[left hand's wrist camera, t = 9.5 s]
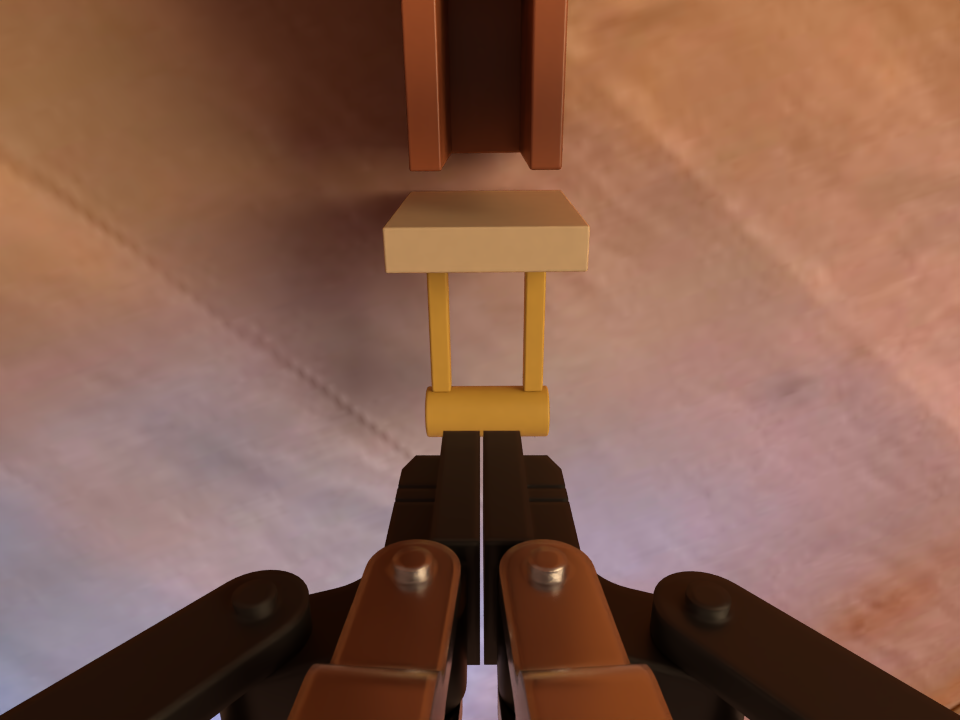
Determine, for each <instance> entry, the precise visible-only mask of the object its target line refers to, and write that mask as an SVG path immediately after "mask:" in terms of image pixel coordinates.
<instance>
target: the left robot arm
mask: <svg viewBox="0 0 960 720" xmlns="http://www.w3.org/2000/svg"><path fill="white" fill-rule="evenodd" d="M483 581H484V665H497V675H498V706H497V707H498V720H744V716H746V717H747V718H748V719H750V720H960V715H958V714H956V713H955V712H953V711H951V710H950V709H948V708H946V707H944V706H943V705H941V704H939V703H938V702H936V701H934V700H933V699H931V698H929V697H927V696H926V695H924V694H922V693H921V692H919V691H917V690H916V689H914V688H912V687H910V686H909V685H907V684H905V683H904V682H902V681H900V680H898V679H897V678H895V677H893V676H892V675H890V674H888V673H887V672H885V671H883V670H881V669H880V668H878V667H876V666H875V665H873V664H871V663H870V662H868V661H866V660H864V659H863V658H861V657H859V656H858V655H856V654H854V653H852V652H851V651H849V650H847V649H846V648H844V647H842V646H841V645H839V644H837V643H835V642H834V641H832V640H830V639H829V638H827V637H825V636H823V635H822V634H820V633H818V632H817V631H815V630H813V629H812V628H810V627H808V626H806V625H805V624H803V623H801V622H800V621H798V620H796V619H795V618H793V617H791V616H789V615H788V614H786V613H784V612H783V611H781V610H779V609H777V608H776V607H774V606H772V605H771V604H769V603H767V602H766V601H764V600H762V599H760V598H759V597H757V596H755V595H754V594H752V593H750V592H748V591H747V590H745V589H743V588H742V587H740V586H738V585H737V584H735V583H733V582H731V581H729V580H727V579H725V578H722V577H719V576H716V575H713V574H709V573H704V572H695V571H687V572H679V573H674V574H671V575H669V576H667V577H665V578H663V579H662V580H661V581H660V582H659V583H658V584H657V586H656V588H655V590H654V594H652V593H647V592H643V591H639V590H634V589H630V588H626V587H623V586H620V585H617V584H614V583H612V582H610V581H608V580H606V579H604V578H602V577H601V576H599V575H598V574H597V573H596V570H595V568H594V565H593V563H592V561H591V560H590V559H589V557H588V556H587V555H586V554H585V553H583V552H582V551H581V550H580V546H579V542H578V538H577V534H576V529H575V525H574V521H573V517H572V513H571V508H570V504H569V502H568V496H567V491H566V488H565V483H564V479H563V474H562V470H561V468H560V467H559V466H558V465H557V464H556V463H554V462H553V461H552V460H551V459H550V458H549V457H548V456H547V455H523V450H522V443H521V435H520V431H483ZM467 665H480V431H443V437H442V445H441V454H440V455H416V456H415V457H414V458H413V459H412V460H411V461H410V462H409V463H408V464H407V465H406V466H405V467H404V468H403V469H402V472H401V476H400V481H399V485H398V489H397V494H396V498H395V503H394V507H393V512H392V516H391V520H390V525H389V529H388V534H387V538H386V543H385V547H384V548H382V549H381V550H379V551H378V552H377V553H375V554H374V555H373V556H372V557H371V559H370V560H369V561H368V563H367V565H366V568H365V570H364V573H363V576H362V578H361V579H359V580H357V581H355V582H353V583H351V584H348V585H346V586H342V587H339V588H335V589H331V590H327V591H323V592H318V593H314V594H310V595H309V591H308V588H307V585H306V584H305V583H304V581H303V580H302V579H301V578H299V577H298V576H296V575H294V574H292V573H289V572H286V571H280V570H262V571H256V572H252V573H248V574H245V575H242V576H239V577H237V578H235V579H233V580H231V581H229V582H227V583H225V584H223V585H222V586H220V587H218V588H217V589H215V590H213V591H212V592H210V593H208V594H206V595H205V596H203V597H201V598H200V599H198V600H196V601H194V602H193V603H191V604H189V605H188V606H186V607H184V608H183V609H181V610H179V611H177V612H176V613H174V614H172V615H171V616H169V617H167V618H166V619H164V620H162V621H160V622H159V623H157V624H155V625H154V626H152V627H150V628H148V629H147V630H145V631H143V632H142V633H140V634H138V635H137V636H135V637H133V638H131V639H130V640H128V641H126V642H125V643H123V644H121V645H119V646H118V647H116V648H114V649H113V650H111V651H109V652H108V653H106V654H104V655H102V656H101V657H99V658H97V659H96V660H94V661H92V662H91V663H89V664H87V665H85V666H84V667H82V668H80V669H79V670H77V671H75V672H73V673H72V674H70V675H68V676H67V677H65V678H63V679H62V680H60V681H58V682H56V683H55V684H53V685H51V686H50V687H48V688H46V689H44V690H43V691H41V692H39V693H38V694H36V695H34V696H33V697H31V698H29V699H27V700H26V701H24V702H22V703H21V704H19V705H17V706H16V707H14V708H12V709H10V710H9V711H7V712H5V713H4V714H2V715H0V720H210V719H212V718H213V717H214V716H216V715H217V714H218V713H220V716H221V720H462V707H463V706H462V698H463V696H464V694H465V691H466V685H467Z"/></svg>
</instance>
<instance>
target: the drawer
mask: <svg viewBox="0 0 960 720" xmlns="http://www.w3.org/2000/svg"><path fill="white" fill-rule="evenodd" d="M567 11H568V0H401V14H402V33H403V53H404V72H405V91H406V111H407V130H408V149H409V169H410V171H440V170H441V169H442V168H443V166H444V164H445V163H446V161H447V159H448V158H449V156H450V154H451V153H513V152H520V153H521V154H522V156H523V158H524V159H525V161H526V163H527V164H528V166H529V168H530V169H532V170H559V169H561V167H562V144H563V118H564V91H565V64H566V37H567ZM382 232H383V246H384V260H385V272H386V273H427V290H428V312H429V335H430V357H431V380H432V386H429V387H428V388H427V390H426V400H425V424H426V433H427V436H428V437H443V431H480V437H483V431H520V435H521V436H547V435H548V432H549V420H550V409H549V393H548V388H547V386H543V354H544V321H545V288H546V272H585V271H587V270H588V253H589V236H590V227H589V225H588V224H587V223H586V221H585V220H584V219H583V218H582V216H581V215H580V214H579V213H578V211H577V210H576V209H575V207H574V206H573V205H572V204H571V202H570V201H569V200H568V199H567V197H566V196H565V195H564V194H563V192H562V191H561V190H521V191H420V192H410V194H409V195H408V196H407V198H406V199H405V200H404V201H403V203H402V204H401V205H400V207H399V208H398V209H397V211H396V212H395V213H394V214H393V216H392V217H391V218H390V220H389V221H388V222H387V223H386V225H385V226H384V227H383V229H382ZM470 272H525V276H524V336H523V386H451V384H452V382H451V350H450V317H449V285H448V273H470Z"/></svg>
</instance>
